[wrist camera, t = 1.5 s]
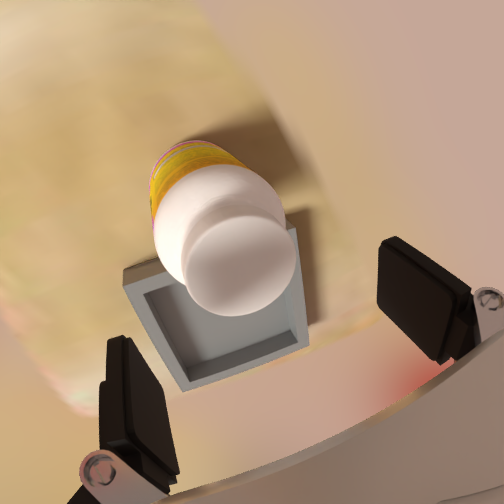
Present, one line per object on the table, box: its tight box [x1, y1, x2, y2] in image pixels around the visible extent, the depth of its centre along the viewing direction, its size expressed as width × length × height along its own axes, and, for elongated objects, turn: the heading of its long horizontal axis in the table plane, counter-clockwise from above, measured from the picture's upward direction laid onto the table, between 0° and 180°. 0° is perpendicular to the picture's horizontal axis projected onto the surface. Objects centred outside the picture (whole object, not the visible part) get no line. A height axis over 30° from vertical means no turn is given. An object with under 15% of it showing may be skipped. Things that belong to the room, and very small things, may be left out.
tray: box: [123, 218, 310, 392], centre depth 28 cm, size 14×14×2 cm
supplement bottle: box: [149, 140, 296, 316], centre depth 18 cm, size 7×7×13 cm
